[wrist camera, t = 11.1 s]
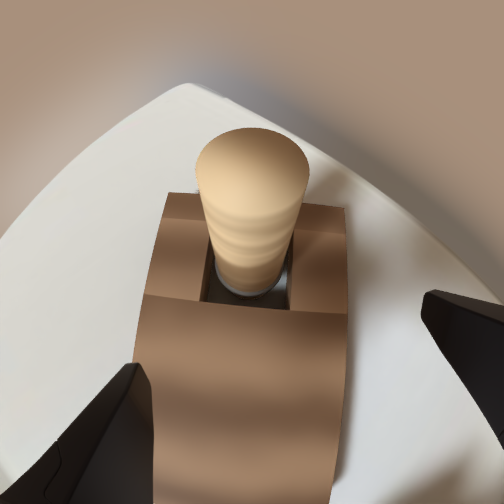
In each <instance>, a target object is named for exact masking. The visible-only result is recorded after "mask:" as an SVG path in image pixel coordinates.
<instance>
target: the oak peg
mask: <svg viewBox="0 0 504 504" xmlns="http://www.w3.org/2000/svg"><path fill="white" fill-rule="evenodd" d="M195 171H196V178H197V183H198V187H199V192H200V196H201V201H202V205H203V209H204V213H205V218H206V222H207V226H208V230H209V234H210V238H211V242H212V246H213V250H214V254H215V268H216V272H217V275H218V278H219V280H220V281H221V283H222V284H223V285H224V286H225V287H226V288H227V289H228V290H229V291H231V292H232V293H233V294H234V295H235V296H237V297H239V298H241V299H244V300H254V299H257V298H260V297H261V296H263V295H264V294H265V293H267V292H268V291H270V290H271V289H272V288H273V287H274V286H275V285H276V284H277V283H278V281H279V280H280V278H281V275H282V272H283V268H284V258H285V255H286V252H287V249H288V246H289V242H290V239H291V236H292V233H293V230H294V226H295V223H296V220H297V217H298V213H299V210H300V207H301V204H302V200H303V197H304V194H305V190H306V187H307V184H308V180H309V164H308V161H307V158H306V156H305V154H304V153H303V151H302V150H301V149H300V147H299V146H298V145H297V144H296V143H294V142H293V141H292V140H291V139H289V138H288V137H286V136H284V135H282V134H280V133H277V132H275V131H271V130H268V129H262V128H241V129H236V130H232V131H228V132H226V133H223V134H221V135H219V136H217V137H216V138H214V139H213V140H212V141H210V142H209V143H208V144H207V145H206V146H205V147H204V148H203V150H202V151H201V153H200V155H199V157H198V159H197V162H196V169H195Z"/></svg>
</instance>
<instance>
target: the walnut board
mask: <svg viewBox="0 0 504 504" xmlns="http://www.w3.org/2000/svg"><path fill="white" fill-rule="evenodd" d="M213 257H214V250H213V246H212V242H211V238H210V234H209V230H208V226H207V222H206V218H205V213H204V209H203V205H202V201H201V196H200V194H191V193H172V192H169V193H168V196H167V200H166V203H165V207H164V210H163V214H162V218H161V221H160V225H159V229H158V233H157V237H156V241H155V245H154V249H153V253H152V258H151V262H150V266H149V271H148V276H147V280H146V285H145V290H144V295H143V300H142V305H141V311H140V316H139V322H138V328H137V334H136V340H135V347H134V353H133V361H132V363H135V362H138V363H140V364H141V365H142V367H143V369H144V371H145V373H146V375H147V377H148V379H149V381H150V384H151V388H152V407H153V423H154V455H153V503H154V504H329V500H330V495H331V490H332V484H333V479H334V473H335V466H336V460H337V453H338V446H339V438H340V430H341V421H342V411H343V400H344V388H345V374H346V355H347V323H348V281H347V249H346V229H345V214H344V208H341V207H333V206H325V205H316V204H308V203H302V204H301V207H300V210H299V213H298V217H297V220H296V223H295V226H294V230H293V233H292V236H291V239H290V242H289V246H288V265H287V283H286V299H285V310H280V309H268V308H257V307H247V306H237V305H227V304H218V303H209V302H207V298H208V291H209V284H210V277H211V270H212V264H213Z"/></svg>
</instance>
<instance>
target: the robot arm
mask: <svg viewBox="0 0 504 504" xmlns="http://www.w3.org/2000/svg"><path fill="white" fill-rule="evenodd" d="M421 318H422V321H423V322H424V324H425V326H426V327H427V329H428V331H429V332H430V334H431V335H432V337H433V339H434V340H435V342H436V344H437V346H438V347H439V349H440V351H441V352H442V354H443V355H444V357H445V358H446V359H447V361H448V362H449V364H450V365H451V366H452V368H453V369H454V371H455V372H456V374H457V375H458V376H459V378H460V379H461V381H462V382H463V384H464V385H465V387H466V388H467V390H468V391H469V393H470V394H471V396H472V397H473V399H474V400H475V402H476V404H477V405H478V407H479V408H480V410H481V412H482V413H483V415H484V416H485V418H486V420H487V421H488V423H489V425H490V426H491V428H492V430H493V431H494V433H495V435H496V437H497V438H498V441H499V442H500V444H501V446H502V448H503V450H504V306H502V305H498V304H494V303H490V302H486V301H482V300H478V299H473V298H469V297H465V296H461V295H457V294H453V293H449V292H444V291H440V290H436V289H435V290H431V291H429V292H426V293H425V295H424V297H423V303H422V309H421ZM153 455H154V423H153V407H152V388H151V384H150V381H149V379H148V377H147V375H146V373H145V371H144V369H143V367H142V365H141V364H140V363H138V362H135V363H127V364H125V365H124V366H123V367H122V368H121V369H120V370H119V372H118V373H117V374H116V375H115V376H114V377H113V378H112V379H111V380H110V381H109V382H108V384H107V385H106V386H105V387H104V388H103V389H102V390H101V391H100V392H99V393H98V394H97V396H96V397H95V398H94V399H93V400H92V401H91V402H90V403H89V404H88V405H87V407H86V408H85V409H84V410H83V411H82V412H81V413H80V414H79V415H78V417H77V418H76V419H75V420H74V421H73V422H72V423H71V424H70V425H69V427H68V428H67V429H66V430H65V431H64V432H63V433H62V434H61V436H60V437H59V438H58V439H57V441H55V442H54V443H53V444H52V446H51V447H50V448H49V449H48V450H47V451H46V452H45V453H44V454H43V455H42V457H41V458H40V459H39V460H38V461H37V462H36V463H35V464H34V465H33V466H32V467H31V468H30V469H29V470H28V471H26V472H25V473H24V474H23V475H22V476H21V477H20V478H19V479H18V480H17V481H16V482H15V483H13V484H12V485H11V486H10V487H9V488H8V489H7V490H6V491H5V492H3V493H2V494H1V495H0V504H153Z"/></svg>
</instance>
